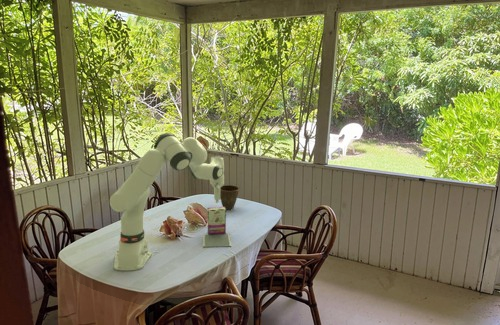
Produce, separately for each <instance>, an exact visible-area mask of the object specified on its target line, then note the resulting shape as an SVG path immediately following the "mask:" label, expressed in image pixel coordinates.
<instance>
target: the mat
mask: <svg viewBox="0 0 500 325" xmlns="http://www.w3.org/2000/svg"><path fill="white" fill-rule="evenodd" d="M202 235H203V236H202V237H203V238H202V239H203V240H202V247H203V248H231V247H232V243H231V237H230V234H229V233H228V234H215V235H208V234H202Z"/></svg>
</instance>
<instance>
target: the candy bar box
mask: <svg viewBox="0 0 500 325" xmlns="http://www.w3.org/2000/svg"><path fill="white" fill-rule="evenodd" d="M206 211H207V216H206V217H207V218H206V219H207V222H206V223H207V235H221V234H226V231H227V228H226V226H227V223H226V222H227V221H226V219H227V218H226V217H227V213H226V212H227V210H226V209H225V207H223V206H218V207H216V206H214V207H207V210H206Z"/></svg>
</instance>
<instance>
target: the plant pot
mask: <svg viewBox="0 0 500 325" xmlns="http://www.w3.org/2000/svg"><path fill="white" fill-rule="evenodd" d="M239 190H240V188H239V186H236V185H230V184H225V185H224V184H223V185H222V187H220V202H221V205H222V206H221V207H225V209H226V211H231V209H232V210H234V208H235V205H236V203H237V199H238V196H239Z"/></svg>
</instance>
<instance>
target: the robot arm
mask: <svg viewBox="0 0 500 325" xmlns="http://www.w3.org/2000/svg"><path fill="white" fill-rule="evenodd" d="M207 159H208V151H207V149H206V147H205V146H204V145H203V144H202V143H201V142H200V141H199V140H197V139H196V138H195V137H191V136H190V137H186V138H184V139H182V141H180V140H178V138H177V137H176V135H174V134H173V133H171V132H165V133H162V134H161V135H159V137H157V139H156V140H155V143H154V145H153V148H151V149H148V150H147V152H146V153H145V154H144V155H143V156H142V157H141V159H140V160H139V161H138V163H137V164H136V166H135V168H134V170H133V171H132V172H131V174H130V175H129V176H128V178H127V179H126V180H125V181H124V182H123V183H122V184H121V185H120V187H118V189H117V190H116V191H115V192H114V193H113V194H112V195H111V196H110V197H109V198H110V199H109V205H110V207H111V209H112V210H113V211H115V212H117V213H122V215H121V217H120V235H119V236H120V238H119V241H118V250H117V252H116V253H115V254H114V263H113V269H114V270H115V271H123V272H124V271H137V270H140V269H143V268H144V266H145V265H146V263H148V261H149V260H150V258H151V257H152V252H150V251H149V246H148V244H149V243H148V240H147V239H146V238H145V229H144V214H145V208H146V204H147V200H148V199H149V197H150V196H151V195H150V194H151V188H150V187H151V186H152V185H153V183H154V182H155V180H156V179H157V177H158V175H159V174H160V172H161V171H162V168H163V166H164V165H165V164H166V163H168V164H169V166H170V167H171V168H172V169H173V170H175V171H176V172H177V171H183V170H184V169H186V168H188V169H189V171H190V174H191V177H192V178H194V179H196V180H197V179H198V180H207V181H208V180H209V184H210V185H211V187H213V194H214V195H213V196H214V197H213V199H214V200H215V203H216V204H217V203H220V201H221V199H220V187H222V186H224V184H225V174H224V173H225V161H224V157H222V156H218V155H217V156H216V155H213V156H211V157H210V163H206V161H207ZM219 200H220V201H219Z"/></svg>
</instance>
